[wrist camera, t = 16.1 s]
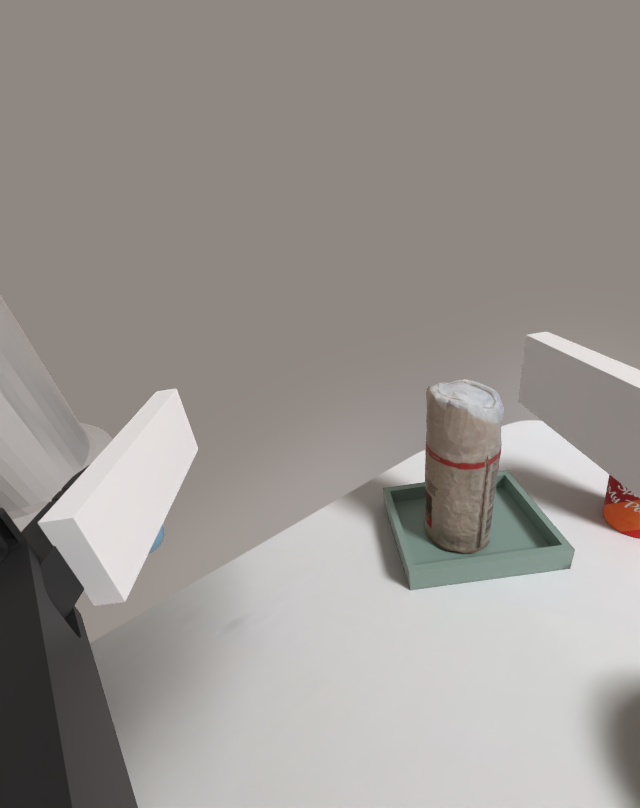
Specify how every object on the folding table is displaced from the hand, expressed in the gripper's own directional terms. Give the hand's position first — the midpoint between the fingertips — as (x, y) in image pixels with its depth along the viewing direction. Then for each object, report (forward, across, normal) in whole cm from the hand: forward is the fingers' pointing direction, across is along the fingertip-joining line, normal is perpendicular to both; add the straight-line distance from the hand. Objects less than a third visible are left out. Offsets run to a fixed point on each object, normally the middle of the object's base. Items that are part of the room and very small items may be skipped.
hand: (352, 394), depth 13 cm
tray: (+21, +14, -32) cm, 41 cm away
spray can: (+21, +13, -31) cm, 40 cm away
